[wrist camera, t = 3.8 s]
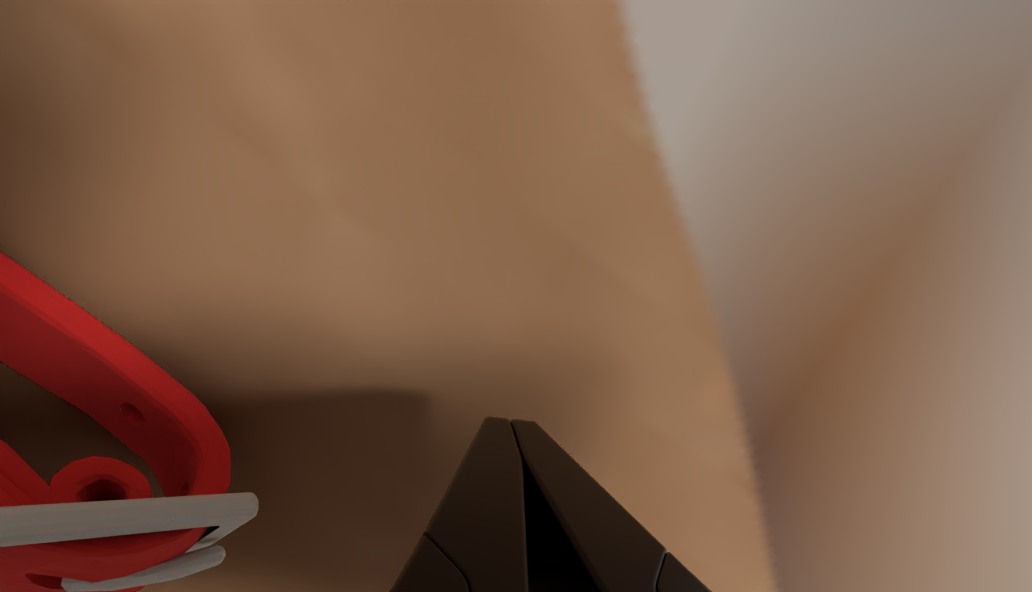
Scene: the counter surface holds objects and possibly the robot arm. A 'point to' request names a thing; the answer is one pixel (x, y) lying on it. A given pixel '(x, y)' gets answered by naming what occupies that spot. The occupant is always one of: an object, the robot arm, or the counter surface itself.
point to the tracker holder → (108, 459)
